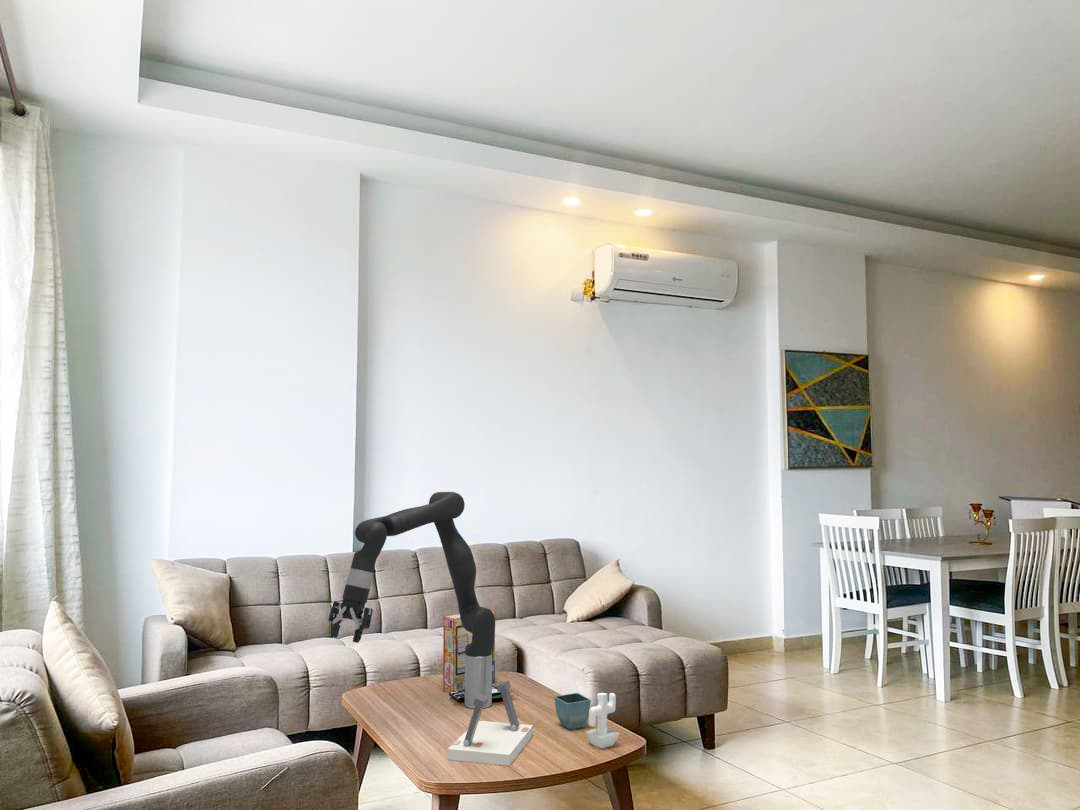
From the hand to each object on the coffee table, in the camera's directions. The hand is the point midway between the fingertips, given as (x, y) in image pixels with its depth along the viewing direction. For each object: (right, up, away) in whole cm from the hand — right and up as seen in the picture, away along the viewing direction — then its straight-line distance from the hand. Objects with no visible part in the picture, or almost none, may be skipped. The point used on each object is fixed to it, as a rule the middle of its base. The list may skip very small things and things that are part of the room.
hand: (344, 639), depth 248 cm
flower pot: (+69, -31, +13) cm, 77 cm away
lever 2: (+51, -27, +1) cm, 58 cm away
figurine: (+77, -30, -3) cm, 83 cm away
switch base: (+45, -30, -5) cm, 54 cm away
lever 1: (+38, -27, -12) cm, 48 cm away
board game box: (+33, -34, +57) cm, 74 cm away
